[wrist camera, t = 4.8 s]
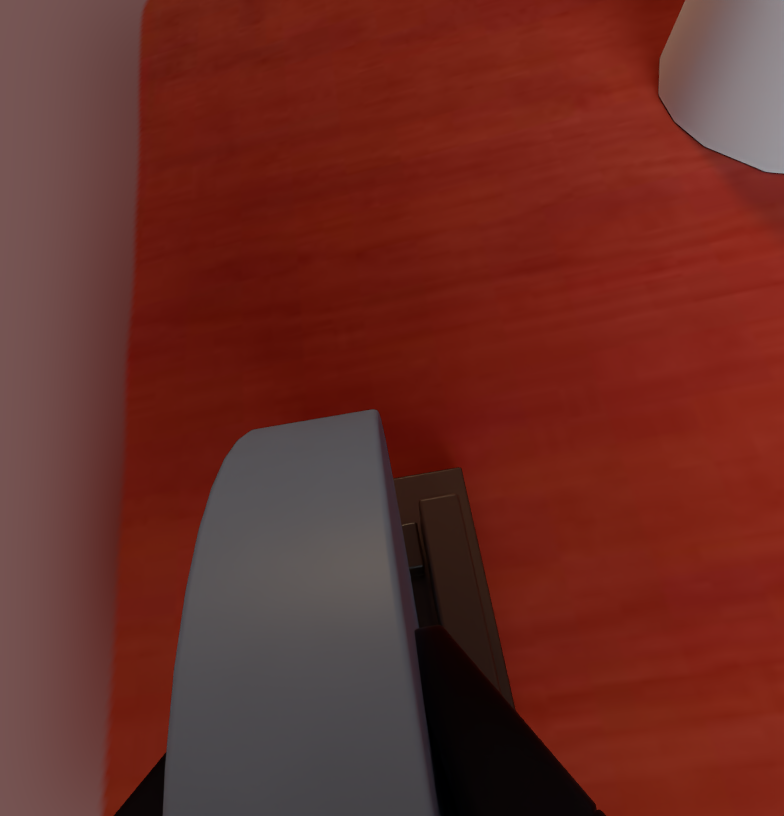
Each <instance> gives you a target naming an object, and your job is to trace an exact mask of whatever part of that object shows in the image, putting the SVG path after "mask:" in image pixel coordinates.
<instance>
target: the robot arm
mask: <svg viewBox="0 0 784 816" xmlns="http://www.w3.org/2000/svg"><path fill="white" fill-rule="evenodd" d="M414 632H415V640H416V647H417V655H418V663H419V670H420V678H421V686H422V693H423V700H424V706H425V712H426V717H427V723H428V729H429V734H430V740H431V745H432V751H433V756H434V762H435V767H436V773H437V778H438V784H439V789H440V795H441V800H442V806H443V811H444V816H606V815H605V814H604V813H603V812H602V811H601V810H596V804H595V803H594V802H593V801H592V799H591V798H590V797H589V796H588V795H587V794H586V792H585V791H584V790H583V789H582V788H581V787H580V785H579V784H578V783H577V782H576V781H575V780H574V778H573V777H572V776H571V775H570V774H569V773H568V771H567V770H566V769H565V768H564V767H563V766H562V764H561V763H560V762H559V761H558V760H557V759H556V757H555V756H554V755H553V754H552V753H551V752H550V750H549V749H548V748H547V747H546V746H545V745H544V744H543V742H542V741H541V740H540V739H539V738H538V737H537V735H536V734H535V733H534V732H533V731H532V730H531V728H530V727H529V726H528V725H527V724H526V723H525V721H524V720H523V719H522V718H521V717H520V716H519V714H518V713H517V712H516V711H515V710H514V709H513V707H512V706H511V705H510V704H509V703H508V702H507V700H506V699H505V698H504V697H503V696H502V695H501V693H500V692H499V691H498V690H497V689H496V688H495V686H494V685H493V684H492V683H491V682H490V681H489V679H488V678H487V677H486V676H485V675H484V674H483V672H482V671H481V670H480V669H479V668H478V667H477V665H476V664H475V663H474V662H473V661H472V660H471V658H470V657H469V656H468V655H467V654H466V653H465V651H464V650H463V649H462V648H461V647H460V646H459V644H458V643H457V642H456V641H455V640H454V639H453V637H452V636H451V635H450V634H449V633H448V632H447V630H446V629H445V628H444V627H443V626H441V625H434V626H428V627H422V628H417V629H416V630H415V631H414ZM165 763H166V753H165V754H164V755H163V757H162V758H161V759H160V760H159V762H158V763H157V764H156V765H155V766H154V768H153V769H152V770H151V771H150V772H149V774H148V775H147V776H146V777H145V778H144V780H143V781H142V782H141V783H140V785H139V786H138V787H137V788H136V789H135V791H134V792H133V793H132V794H131V795H130V797H129V798H128V799H127V800H126V801H125V803H124V804H123V805H122V806H121V808H120V809H119V810H118V811H117V812H116V814H115V815H114V816H163V800H164V778H165Z"/></svg>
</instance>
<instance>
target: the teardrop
mask: <svg viewBox="0 0 784 816" xmlns="http://www.w3.org/2000/svg"><path fill="white" fill-rule="evenodd" d="M658 95H659V97H660V98H661V100H662V102H663V103H664V105H665V107H666V108H667V110H668V112H669V113H670V115H671V117H672V118H673V120H674V122H675V123H677V124H678V125H679V126H680V127H681V128H683V129H684V130H685V131H686V132H687V133H689V134H690V135H691V136H692V137H693V138H695V139H696V140H697V141H698V142H699V143H701V144H702V145H703V146H704V147H707V148H709V149H712V150H714V151H717V152H719V153H721V154H724V155H726V156H729V157H731V158H733V159H736V160H738V161H741V162H743V163H745V164H748V165H750V166H753V167H755V168H757V169H760V170H762V171H765V172H773V173H783V174H784V0H685V2H684V4H683V7H682V9H681V11H680V13H679V16H678V18H677V20H676V22H675V25H674V27H673V29H672V32H671V34H670V36H669V38H668V41H667V43H666V45H665V47H664V50H663V52H662V54H661V57H660V66H659V94H658Z"/></svg>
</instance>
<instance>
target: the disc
mask: <svg viewBox="0 0 784 816" xmlns="http://www.w3.org/2000/svg"><path fill="white" fill-rule="evenodd" d="M417 628H419V623H418V617H417V611H416V605H415V600H414V594H413V588H412V582H411V576H410V571H409V565H408V559H407V553H406V548H405V542H404V536H403V531H402V525H401V519H400V514H399V508H398V503H397V497H396V492H395V486H394V481H393V476H392V470H391V465H390V460H389V454H388V449H387V444H386V439H385V435H384V430H383V425H382V421H381V417H380V414H379V412H378V411H377V410H374V409H372V410H366V411H360V412H354V413H348V414H342V415H336V416H331V417H325V418H319V419H313V420H307V421H301V422H295V423H289V424H284V425H278V426H272V427H266V428H260V429H254V430H251V431H250V432H248V433H247V434H245V435H244V436H243V437H241V438H240V439H239V440H238V441H237V442H236V443H235V444H234V446H233V447H232V449H231V450H230V452H229V453H228V454H227V456H226V457H225V459H224V461H223V463H222V465H221V468H220V470H219V472H218V474H217V477H216V479H215V481H214V483H213V486H212V488H211V491H210V495H209V498H208V501H207V504H206V508H205V511H204V514H203V518H202V521H201V524H200V527H199V531H198V535H197V540H196V545H195V549H194V554H193V559H192V563H191V568H190V573H189V577H188V582H187V587H186V592H185V599H184V606H183V612H182V619H181V626H180V633H179V640H178V646H177V653H176V660H175V667H174V676H173V687H172V698H171V709H170V720H169V730H168V741H167V752H166V763H165V778H164V800H163V816H444V811H443V806H442V800H441V795H440V789H439V784H438V778H437V773H436V767H435V762H434V756H433V751H432V745H431V740H430V734H429V729H428V723H427V717H426V712H425V706H424V700H423V693H422V686H421V678H420V670H419V663H418V655H417V647H416V640H415V632H414V631H415V630H416V629H417Z"/></svg>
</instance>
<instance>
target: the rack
mask: <svg viewBox="0 0 784 816" xmlns="http://www.w3.org/2000/svg"><path fill="white" fill-rule="evenodd" d="M393 481H394V486H395V492H396V497H397V503H398V508H399V514H400V519H401V525H402V531H403V536H404V542H405V548H406V553H407V559H408V565H409V571H410V576H411V582H412V588H413V594H414V600H415V605H416V611H417V617H418V623H419V628H422V627H428V626H434V625H441V626H443V627H444V628H445V629H446V630H447V632H448V633H449V634H450V635H451V636H452V637H453V639H454V640H455V641H456V642H457V643H458V644H459V646H460V647H461V648H462V649H463V650H464V651H465V653H466V654H467V655H468V656H469V657H470V658H471V660H472V661H473V662H474V663H475V664H476V665H477V667H478V668H479V669H480V670H481V671H482V672H483V674H484V675H485V676H486V677H487V678H488V679H489V681H490V682H491V683H492V684H493V685H494V686H495V688H496V689H497V690H498V691H499V692H500V693H501V695H502V696H503V697H504V698H505V699H506V700H507V702H508V703H509V704H510V705H511V706H512V707H513V709H514V710H515V706H514V702H513V697H512V693H511V688H510V684H509V679H508V675H507V670H506V666H505V661H504V657H503V652H502V648H501V643H500V639H499V635H498V630H497V626H496V621H495V617H494V612H493V608H492V603H491V599H490V594H489V590H488V585H487V581H486V576H485V572H484V567H483V563H482V558H481V554H480V549H479V545H478V540H477V536H476V531H475V527H474V523H473V518H472V514H471V509H470V505H469V500H468V496H467V491H466V487H465V482H464V478H463V473H462V469H461V468H459V467H458V468H452V469H446V470H440V471H435V472H429V473H423V474H417V475H411V476H405V477H400V478H394V479H393Z"/></svg>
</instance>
